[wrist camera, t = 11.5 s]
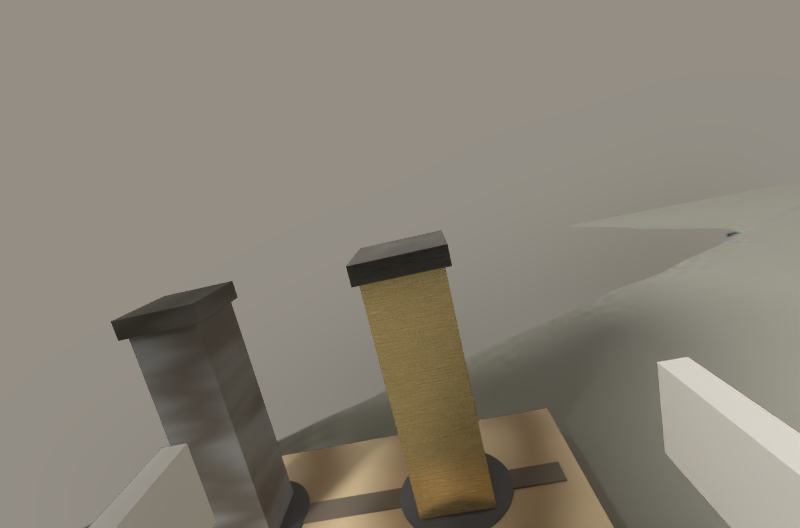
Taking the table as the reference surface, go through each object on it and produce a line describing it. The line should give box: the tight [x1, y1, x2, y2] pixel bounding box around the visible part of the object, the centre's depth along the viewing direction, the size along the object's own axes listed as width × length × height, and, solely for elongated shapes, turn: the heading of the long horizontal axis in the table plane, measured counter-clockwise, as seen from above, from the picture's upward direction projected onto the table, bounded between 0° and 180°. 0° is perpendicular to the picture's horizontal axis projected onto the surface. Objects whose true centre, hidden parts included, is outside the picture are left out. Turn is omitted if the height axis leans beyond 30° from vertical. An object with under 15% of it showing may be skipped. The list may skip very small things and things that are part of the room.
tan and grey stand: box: [111, 281, 614, 528], centre depth 22 cm, size 22×12×16 cm, turn 88°
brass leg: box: [346, 231, 497, 520], centre depth 22 cm, size 5×5×14 cm
